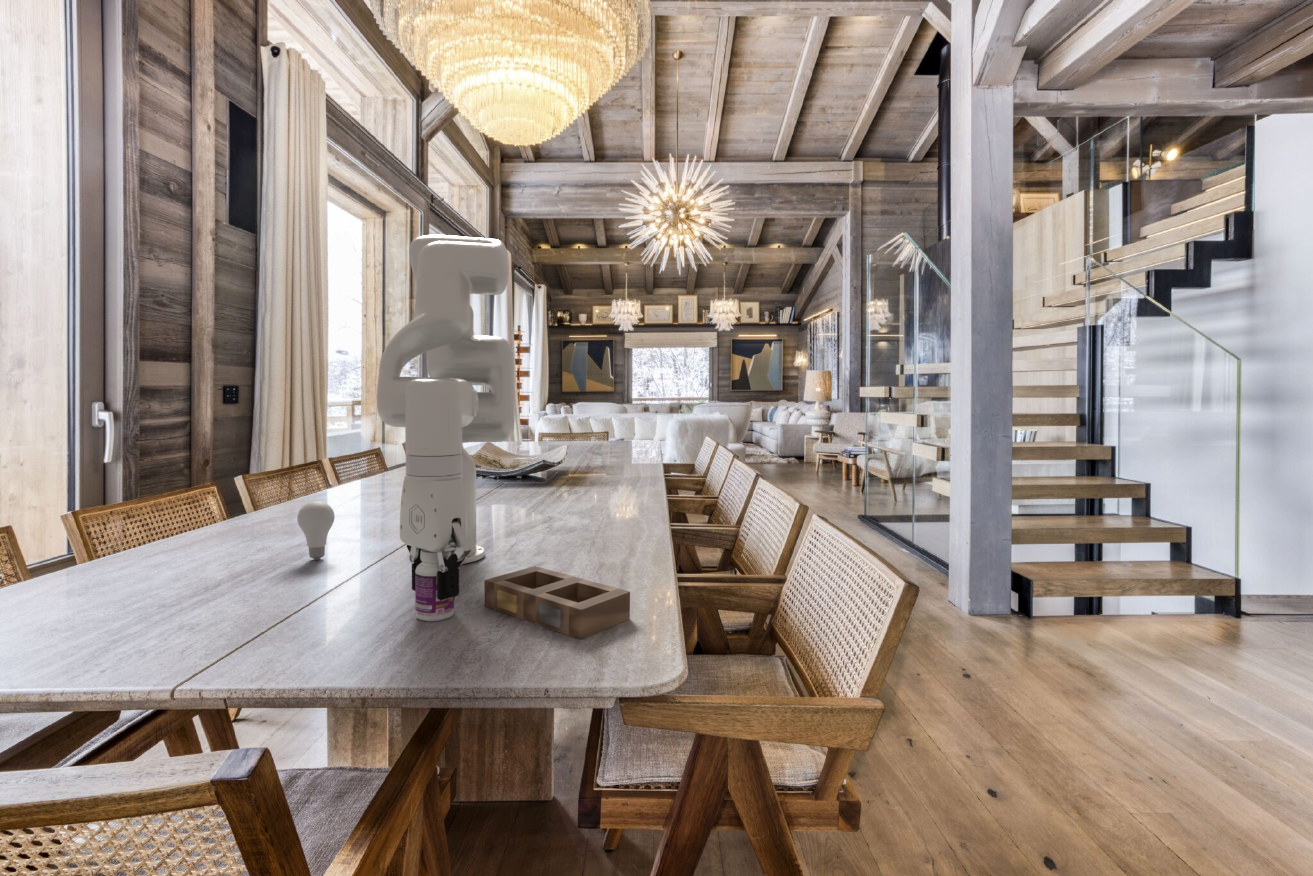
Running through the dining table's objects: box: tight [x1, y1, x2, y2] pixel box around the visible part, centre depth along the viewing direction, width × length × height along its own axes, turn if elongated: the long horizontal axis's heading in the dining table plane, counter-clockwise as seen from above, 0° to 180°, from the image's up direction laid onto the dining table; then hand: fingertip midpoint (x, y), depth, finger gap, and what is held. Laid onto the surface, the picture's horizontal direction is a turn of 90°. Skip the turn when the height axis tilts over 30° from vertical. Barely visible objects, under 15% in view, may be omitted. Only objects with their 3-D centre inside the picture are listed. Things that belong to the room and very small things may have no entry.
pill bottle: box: [414, 547, 456, 622], centre depth 92 cm, size 5×5×10 cm
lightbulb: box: [297, 500, 335, 561], centre depth 120 cm, size 6×6×11 cm
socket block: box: [483, 565, 631, 640], centre depth 95 cm, size 20×10×4 cm, turn 53°
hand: (435, 591), depth 92 cm, fingers closed on pill bottle, 5 cm apart
